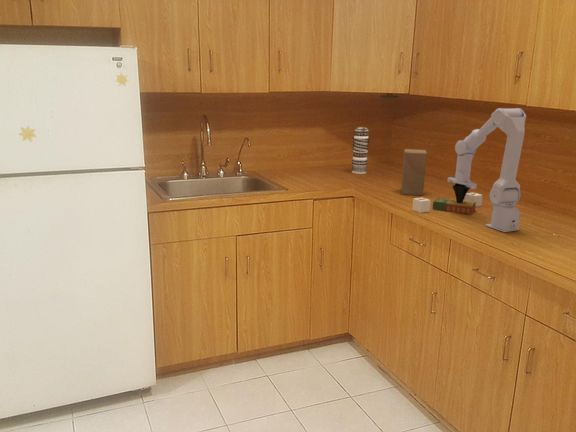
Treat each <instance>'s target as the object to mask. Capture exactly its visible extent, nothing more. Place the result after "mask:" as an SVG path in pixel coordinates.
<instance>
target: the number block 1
mask: <svg viewBox="0 0 576 432" xmlns="http://www.w3.org/2000/svg"><path fill="white" fill-rule="evenodd" d="M431 203H432V200H431V199H428V198H425V197H415V198H413V199H412V211H414V212H417V213H419V214H422V213H430V211H431Z"/></svg>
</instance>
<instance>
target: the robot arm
mask: <svg viewBox="0 0 576 432" xmlns="http://www.w3.org/2000/svg"><path fill="white" fill-rule="evenodd" d="M490 116H491V117H489V119H488V120H486V122H485V123H484V124H483V125H482V127H480V128H476V129H473V130H471V133H470V134H468V135H467V136H466V137H464V139H463V140H462V139H461V140H458V141H457V142H456V143H455V146H454V150H455V153H456V154H457V157H456V168H455V175H454V177H452V176H450V177H447V181H446V182H447V183H452V184H454V185H452V189H453V191H454V195H455V199H456V201H457V203H462V202H463V200H465V195H466V193H468V192H469V190H470V189H471V190H477V186H478V183H476V182H473V181H471V179H470V178H471V172H472V171H471V170H472V169H471V168H472V160H473V158H474V156H475V154H476V153H477V148H478V147H480V146H481V145H482V144H483V143H484V142H485V141H486V140H487V136H488V135H489V134H490V133H492V132H494V131H495V130H496V129H497V128H499V130H501V132H503V133H504V134H505V135H506V143H505V147H504V154H503V158H502V163H501V169H500V173H499V174H500V175H499V178H498V179H497V180H496V181H495V182H494V183H493V185H492V187H491V189H490V191H489V200H490V202H491V204H492V210H491V211H492V212H491V219H490V223H486V224H485V227H488V228H491V229H494V230H497V231H500V232H503V233H509V232H515V231H519V230H520V228H519V225H520V218H521V212H520V210H519V209H518V208H517V207H515V206H516V204H517V203H518V202H519V201H520V199H521V184H520V183H519V182H518V181H517V180H516V179H517V174H518V169H519V164H520V159H521V155H522V154H521V153H522V148H523V144H524V139H525V131H526V129H525V125H526V119H527V114H526V113H525V111H524V110H523V108H519V107H516V108H502V107H499V108H496V109H495V110H494V111H493V112H492V113H491V115H490Z"/></svg>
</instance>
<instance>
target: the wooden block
mask: <svg viewBox="0 0 576 432" xmlns="http://www.w3.org/2000/svg"><path fill="white" fill-rule="evenodd" d="M403 150H404V151H403V152H404V153H403V163H402V176H401V186H400V187H401V189H400V192H401V193H400V194H401V195H405V194H406V195H407V196H408V195H409V196H424V188H425V180H426V179H425V177H426V167H427V157H428V156H427V155H428V153H427V150H425V149H410V148H405V149H403Z"/></svg>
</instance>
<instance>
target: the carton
mask: <svg viewBox="0 0 576 432" xmlns="http://www.w3.org/2000/svg"><path fill="white" fill-rule="evenodd" d="M475 205H476V202H473V201H465V199H464V200H463V202H462V203H457V201H456V198H446V197H439V196H438V197H437V198H435V199H434V200H433V202H432V210H434V211H435V210H436V211H441V212H449V213H456V214H463V215H470V216H472V215H473V213H474V212H475V211H476V207H475Z"/></svg>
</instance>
